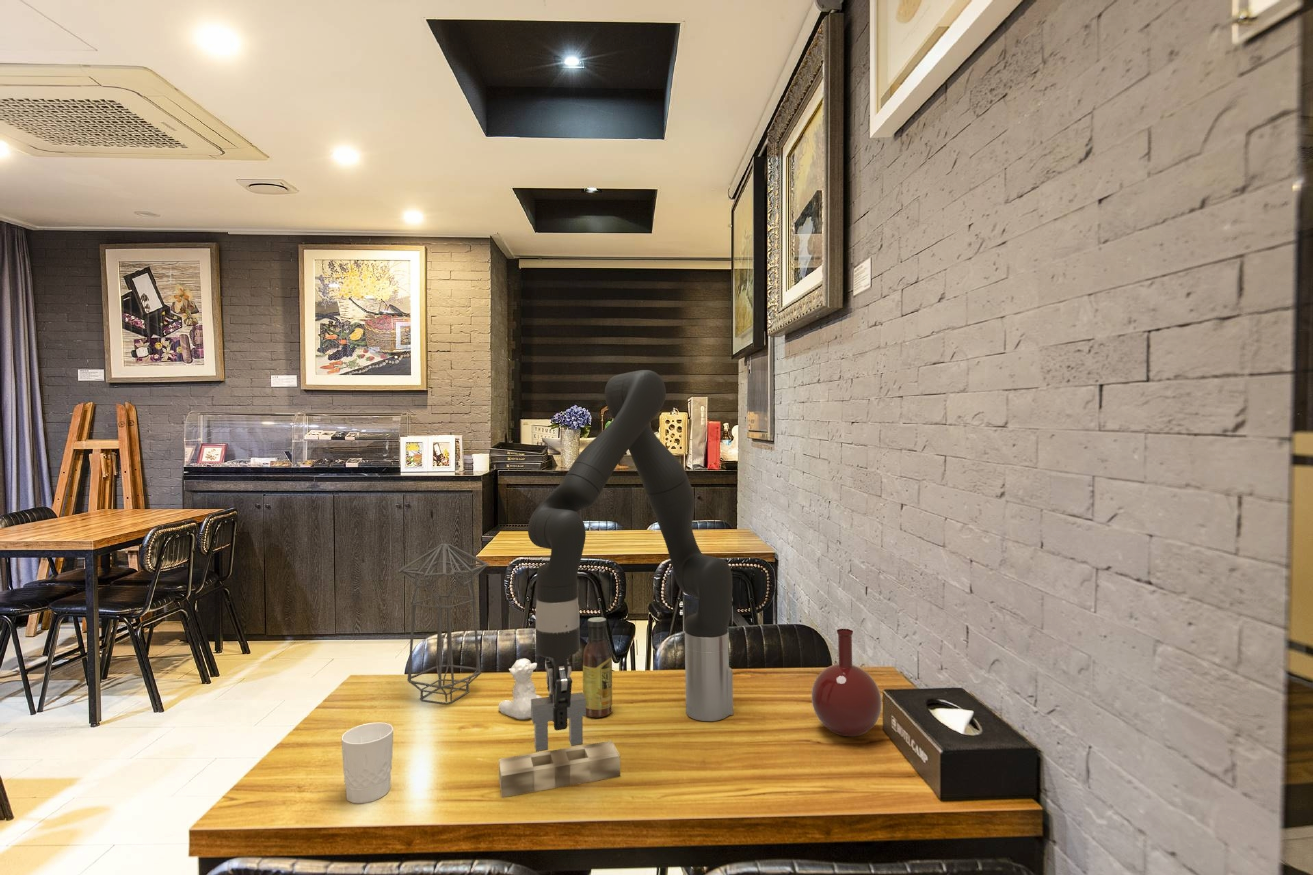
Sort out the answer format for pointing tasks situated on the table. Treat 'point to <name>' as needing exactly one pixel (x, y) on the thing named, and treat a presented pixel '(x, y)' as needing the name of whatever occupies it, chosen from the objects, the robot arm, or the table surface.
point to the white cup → (367, 761)
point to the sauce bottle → (597, 670)
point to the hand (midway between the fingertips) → (558, 723)
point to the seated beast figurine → (520, 691)
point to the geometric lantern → (405, 572)
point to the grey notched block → (545, 713)
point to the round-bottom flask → (846, 694)
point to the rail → (558, 768)
